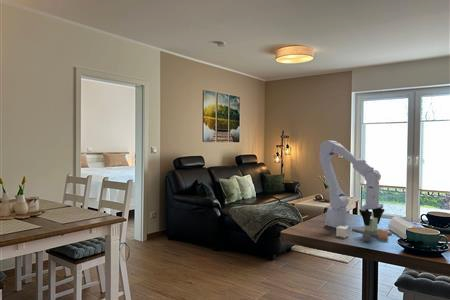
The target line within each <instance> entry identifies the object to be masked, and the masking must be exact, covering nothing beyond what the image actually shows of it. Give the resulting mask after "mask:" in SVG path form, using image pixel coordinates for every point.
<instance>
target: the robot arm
mask: <svg viewBox="0 0 450 300" xmlns="http://www.w3.org/2000/svg"><path fill="white" fill-rule="evenodd" d="M335 154H338V155H340V156H342V157H343V158H344V159H345V160H347V162H349V163H350V164H352V168H353V169H354V170H355V171H356V172H357V173H359V175H361V176H362V177H363V178H364V180H365V182H366V183H365V184H366V185H365V204H363V205H360V208H359V209H358V210H359V211H358V212H359V213H360V215H361V218H362V220H363V221H362V222H363V226H365V225H367V226H369V224H370V217H375V218H378V225H379V224H380V222H381V219H382V216H383V213H384V212H385V208H384V204H383V203H380V180H381V177H382V175H381V172H380V171H379V170H376V169H375V167H373V166H370V165H369V164H368V163H367V161H366V160H365V159H361V158H360V159H358V158H357V157H356V156H355V155H353V154H352V153H351V152H350V151H349V150H348V149H347V148H346V147H344V145H342V143H339V141H336V140H328V139H327V140H324V141H322V143H321V144H320V146H319V155H318V162H319V163H320V164H319V165H320V166H321V169H322V173H323V175H324V178H325V182H326V184H327V187H328V190H329V195H328V197H329V206H330V207H328V208H327V209H326V214H325V223H324V225H325V226H328V227H331V228H336V227H338V226H344V227H349V228H351V226H350V225H348V224H347V206H348V204H349V199H348V197H347V196H346V195H345V193H344V191H343V190H342V189H341V187H340V184H339V181H338V178H337V176H336V175H337V174H336V173H335V169H334V167H333V163H332V160H331V159H332V158H333V156H334V155H335ZM370 210H371V211H370ZM372 215H373V216H372Z"/></svg>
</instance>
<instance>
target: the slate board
mask: <svg viewBox="0 0 450 300" xmlns="http://www.w3.org/2000/svg"><path fill="white" fill-rule="evenodd" d="M378 229H379V228H377V231H374V232H371V231H367V230H365V225H362V226H358V227H353V228H351V231H353V232H357V233H360V234H362V235H363V234H365V233H368V234H370V235H371V237H375V238H378ZM392 234H393V233H392V231H391V232H390V231H388V237H389V236H392Z"/></svg>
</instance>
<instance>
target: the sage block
mask: <svg viewBox="0 0 450 300" xmlns="http://www.w3.org/2000/svg"><path fill="white" fill-rule="evenodd" d="M378 225H379V224H378V218H375V217H374V216H371V217H370V224H369V226H367V225H364V226H365V230H367V231H371V232H374V231H377V229H378Z"/></svg>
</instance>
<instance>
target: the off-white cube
mask: <svg viewBox="0 0 450 300" xmlns="http://www.w3.org/2000/svg"><path fill="white" fill-rule="evenodd" d="M349 228H350V227H344V226H338V227H336V232H335V233H336V234H335V235H336V237H339V236H340V237H339V238H344V239H345V238H348V237H349V235H350V234H349V231H350V230H349Z"/></svg>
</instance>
